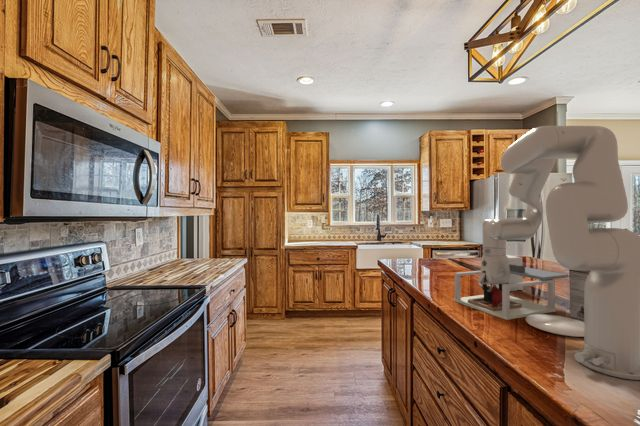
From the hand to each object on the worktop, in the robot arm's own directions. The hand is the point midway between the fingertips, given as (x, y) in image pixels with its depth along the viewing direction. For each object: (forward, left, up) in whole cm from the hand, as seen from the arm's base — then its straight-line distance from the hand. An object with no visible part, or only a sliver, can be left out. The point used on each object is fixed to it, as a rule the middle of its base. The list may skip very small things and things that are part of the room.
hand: (494, 300), depth 114 cm
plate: (+1, -22, -3) cm, 22 cm away
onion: (0, 0, -2) cm, 2 cm away
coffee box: (+19, -20, -3) cm, 28 cm away
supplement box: (+29, +18, -3) cm, 35 cm away
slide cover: (+17, 0, +9) cm, 19 cm away
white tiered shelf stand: (+4, 0, -3) cm, 5 cm away
